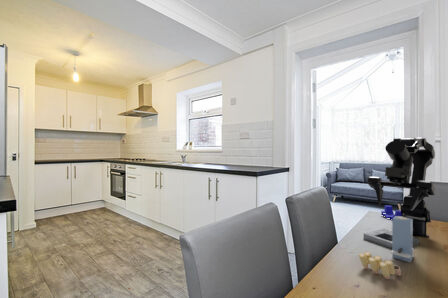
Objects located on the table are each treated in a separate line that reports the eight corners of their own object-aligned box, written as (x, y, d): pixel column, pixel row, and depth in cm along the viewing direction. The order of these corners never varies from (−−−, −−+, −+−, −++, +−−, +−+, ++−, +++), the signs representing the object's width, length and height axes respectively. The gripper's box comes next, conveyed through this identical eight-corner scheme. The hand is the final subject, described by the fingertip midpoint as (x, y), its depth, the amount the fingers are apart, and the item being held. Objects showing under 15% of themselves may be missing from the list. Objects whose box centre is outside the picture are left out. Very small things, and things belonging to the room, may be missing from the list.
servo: (396, 251, 77) (396, 213, 78) (413, 255, 74) (413, 215, 74) (390, 260, 70) (390, 218, 70) (408, 265, 67) (408, 222, 67)
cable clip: (381, 216, 122) (381, 205, 122) (390, 216, 121) (390, 205, 121) (393, 223, 110) (393, 210, 110) (403, 223, 109) (403, 211, 109)
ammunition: (384, 264, 58) (402, 259, 61) (357, 253, 65) (375, 248, 68) (384, 283, 58) (402, 276, 61) (357, 269, 65) (375, 264, 68)
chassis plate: (384, 233, 94) (384, 228, 94) (418, 244, 83) (418, 238, 83) (363, 238, 88) (363, 233, 88) (398, 250, 77) (398, 245, 77)
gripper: (365, 156, 86) (357, 193, 81) (430, 157, 71) (425, 203, 66) (375, 169, 92) (367, 205, 87) (437, 173, 77) (432, 216, 72)
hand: (394, 207), depth 78 cm, fingers open, 9 cm apart
